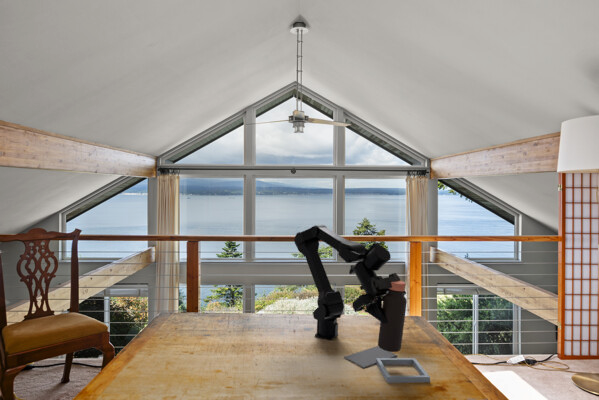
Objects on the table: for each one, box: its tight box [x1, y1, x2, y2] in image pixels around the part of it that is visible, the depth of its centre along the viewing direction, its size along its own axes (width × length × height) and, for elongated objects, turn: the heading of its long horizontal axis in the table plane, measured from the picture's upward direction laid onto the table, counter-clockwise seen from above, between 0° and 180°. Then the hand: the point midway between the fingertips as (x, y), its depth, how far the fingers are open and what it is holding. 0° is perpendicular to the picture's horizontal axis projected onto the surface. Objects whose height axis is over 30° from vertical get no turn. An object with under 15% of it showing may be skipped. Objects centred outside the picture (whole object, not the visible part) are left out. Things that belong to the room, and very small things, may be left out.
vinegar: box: [377, 280, 408, 353], centre depth 125 cm, size 7×7×20 cm
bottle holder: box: [375, 357, 431, 384], centre depth 122 cm, size 12×12×2 cm
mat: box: [343, 345, 398, 369], centre depth 131 cm, size 8×15×1 cm, turn 127°
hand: (393, 324), depth 124 cm, fingers closed on vinegar, 4 cm apart
